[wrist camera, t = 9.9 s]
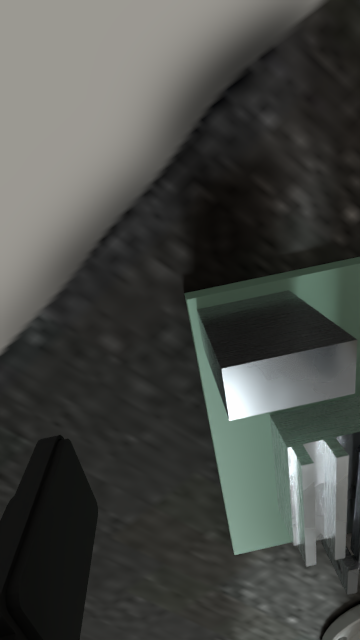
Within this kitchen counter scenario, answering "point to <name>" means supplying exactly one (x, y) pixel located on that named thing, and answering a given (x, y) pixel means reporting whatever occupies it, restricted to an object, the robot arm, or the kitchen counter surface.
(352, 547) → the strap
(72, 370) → the kitchen counter surface
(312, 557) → the heat sink
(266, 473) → the board
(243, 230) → the kitchen counter surface
